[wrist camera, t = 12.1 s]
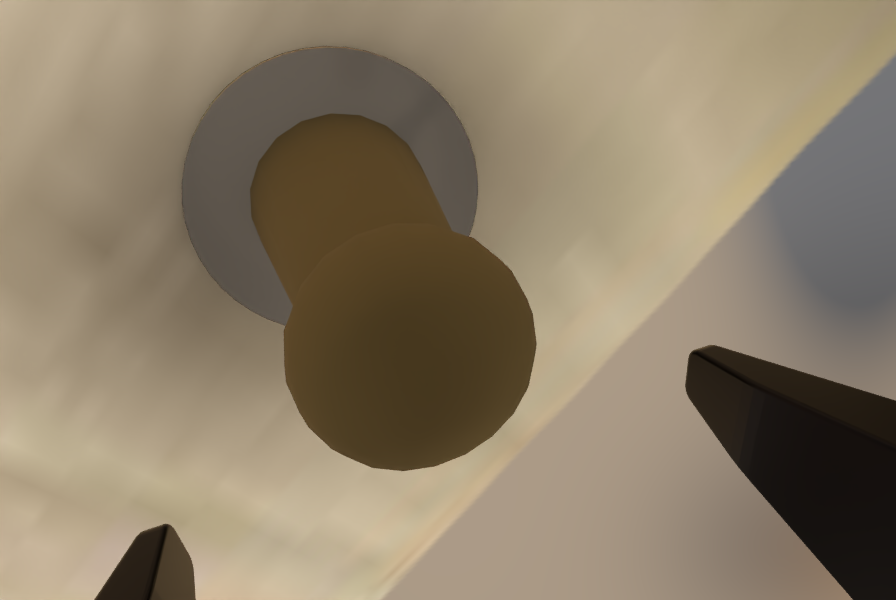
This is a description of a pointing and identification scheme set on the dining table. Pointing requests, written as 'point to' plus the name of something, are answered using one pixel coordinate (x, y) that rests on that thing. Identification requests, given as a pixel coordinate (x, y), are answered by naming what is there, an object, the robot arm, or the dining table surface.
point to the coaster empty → (276, 111)
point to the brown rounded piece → (386, 299)
